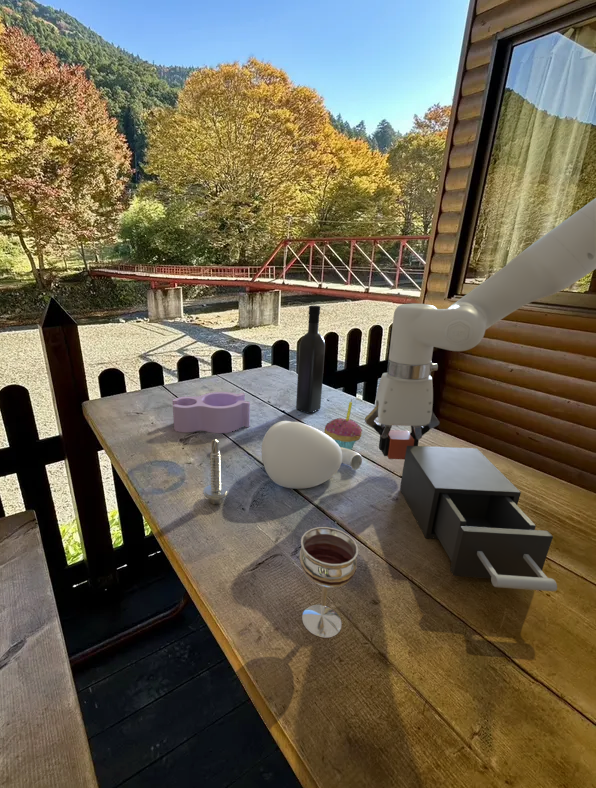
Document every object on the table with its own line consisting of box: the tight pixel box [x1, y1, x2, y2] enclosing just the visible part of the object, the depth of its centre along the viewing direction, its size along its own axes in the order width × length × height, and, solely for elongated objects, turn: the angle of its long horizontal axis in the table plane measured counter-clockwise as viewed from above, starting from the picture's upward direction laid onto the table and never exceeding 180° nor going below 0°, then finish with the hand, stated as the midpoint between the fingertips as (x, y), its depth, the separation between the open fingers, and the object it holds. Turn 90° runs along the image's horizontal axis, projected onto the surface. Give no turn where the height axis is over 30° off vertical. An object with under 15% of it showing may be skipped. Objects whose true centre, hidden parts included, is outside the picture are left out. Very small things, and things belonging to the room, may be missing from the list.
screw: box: [202, 438, 230, 505], centre depth 76 cm, size 13×5×5 cm
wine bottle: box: [295, 305, 326, 413], centre depth 115 cm, size 6×6×30 cm
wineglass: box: [298, 526, 359, 639], centre depth 51 cm, size 7×7×12 cm
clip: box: [172, 391, 251, 434], centre depth 110 cm, size 20×12×7 cm, turn 99°
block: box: [386, 429, 414, 461], centre depth 85 cm, size 4×4×4 cm
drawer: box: [432, 493, 558, 592], centre depth 60 cm, size 19×11×8 cm, turn 174°
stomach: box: [260, 420, 363, 490], centre depth 90 cm, size 23×13×24 cm
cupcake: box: [323, 398, 363, 450], centre depth 95 cm, size 9×8×12 cm
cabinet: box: [399, 445, 522, 540], centre depth 72 cm, size 15×13×10 cm
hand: (397, 452), depth 85 cm, fingers closed on block, 4 cm apart
